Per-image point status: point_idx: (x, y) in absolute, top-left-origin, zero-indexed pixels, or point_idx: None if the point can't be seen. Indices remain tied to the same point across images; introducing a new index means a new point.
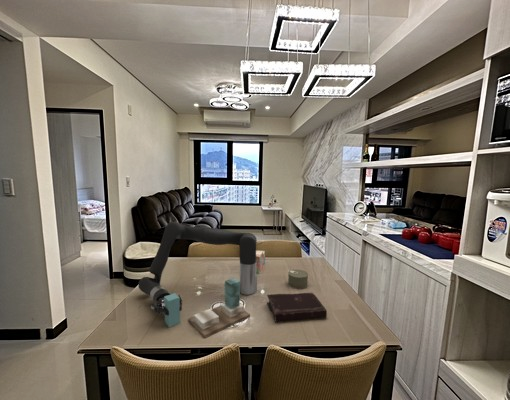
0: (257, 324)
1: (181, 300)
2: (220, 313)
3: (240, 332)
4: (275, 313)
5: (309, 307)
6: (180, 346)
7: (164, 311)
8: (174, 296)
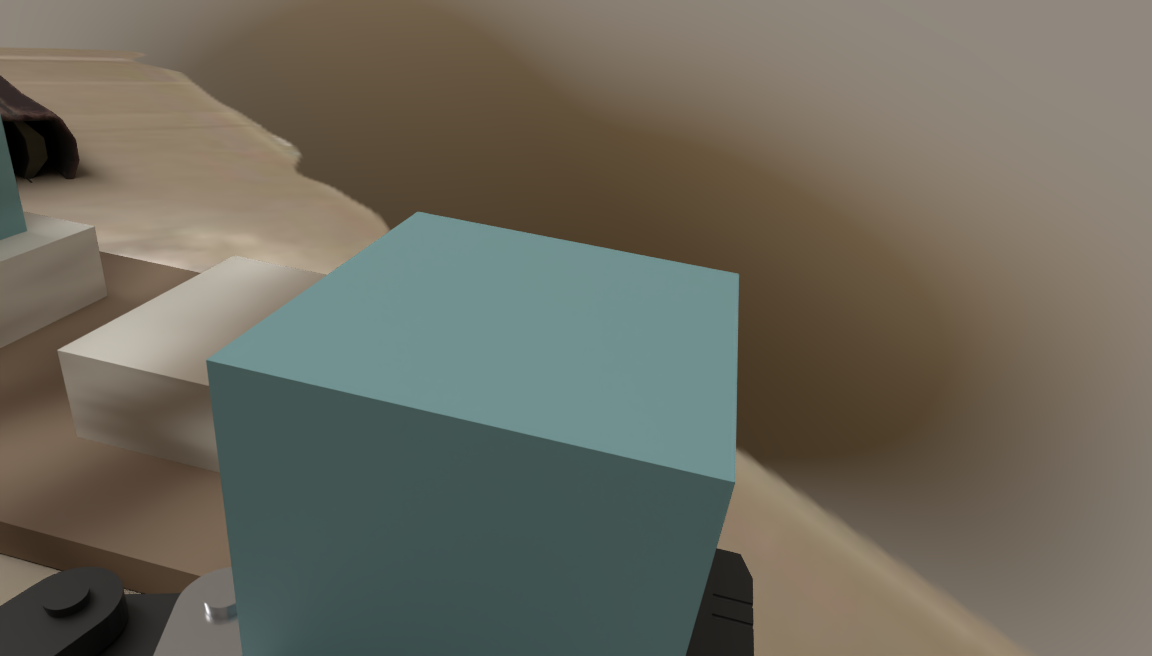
0: (131, 218)
1: (71, 576)
2: (14, 368)
3: (280, 251)
4: (47, 113)
5: None
6: None
7: (750, 606)
8: (450, 283)
